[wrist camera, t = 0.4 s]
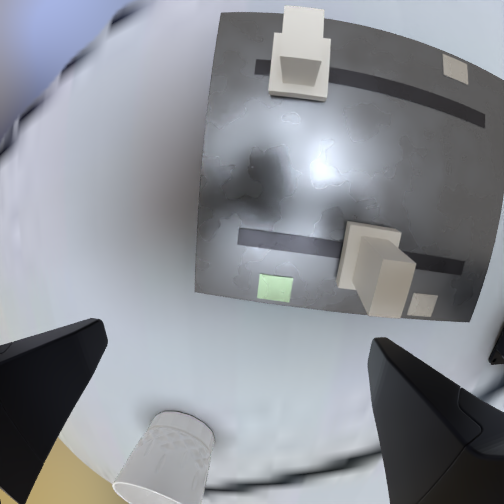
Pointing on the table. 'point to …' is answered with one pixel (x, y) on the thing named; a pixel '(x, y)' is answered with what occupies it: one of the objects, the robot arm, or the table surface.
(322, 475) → the table surface
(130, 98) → the table surface
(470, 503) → the robot arm
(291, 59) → the block
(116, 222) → the table surface
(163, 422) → the white cup
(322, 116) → the board
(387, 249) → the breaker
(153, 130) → the table surface
